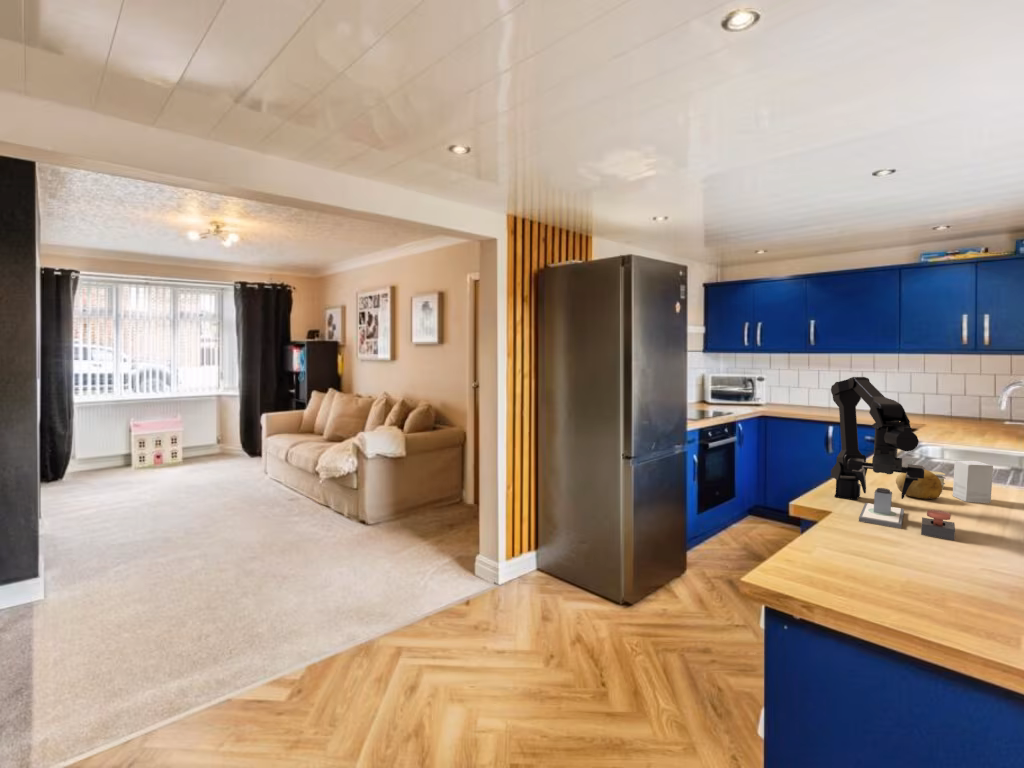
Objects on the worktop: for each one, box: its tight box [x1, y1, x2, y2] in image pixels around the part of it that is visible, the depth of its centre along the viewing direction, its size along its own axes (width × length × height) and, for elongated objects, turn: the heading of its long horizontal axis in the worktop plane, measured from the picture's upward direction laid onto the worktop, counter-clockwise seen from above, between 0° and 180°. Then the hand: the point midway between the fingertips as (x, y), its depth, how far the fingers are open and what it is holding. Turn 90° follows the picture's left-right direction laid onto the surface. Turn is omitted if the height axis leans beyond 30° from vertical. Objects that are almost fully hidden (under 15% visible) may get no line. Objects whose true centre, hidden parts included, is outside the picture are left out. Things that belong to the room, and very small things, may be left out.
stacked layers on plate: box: [929, 470, 946, 489], centre depth 192 cm, size 10×9×6 cm
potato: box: [895, 469, 943, 500], centre depth 178 cm, size 10×12×10 cm
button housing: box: [920, 517, 956, 541], centre depth 144 cm, size 7×7×3 cm
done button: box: [926, 509, 952, 526], centre depth 143 cm, size 5×5×4 cm
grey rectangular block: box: [873, 487, 893, 515], centre depth 158 cm, size 4×4×7 cm
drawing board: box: [858, 502, 905, 529], centre depth 158 cm, size 10×18×2 cm, turn 141°
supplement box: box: [952, 460, 994, 504], centre depth 175 cm, size 7×7×13 cm
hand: (883, 495), depth 157 cm, fingers open, 9 cm apart
